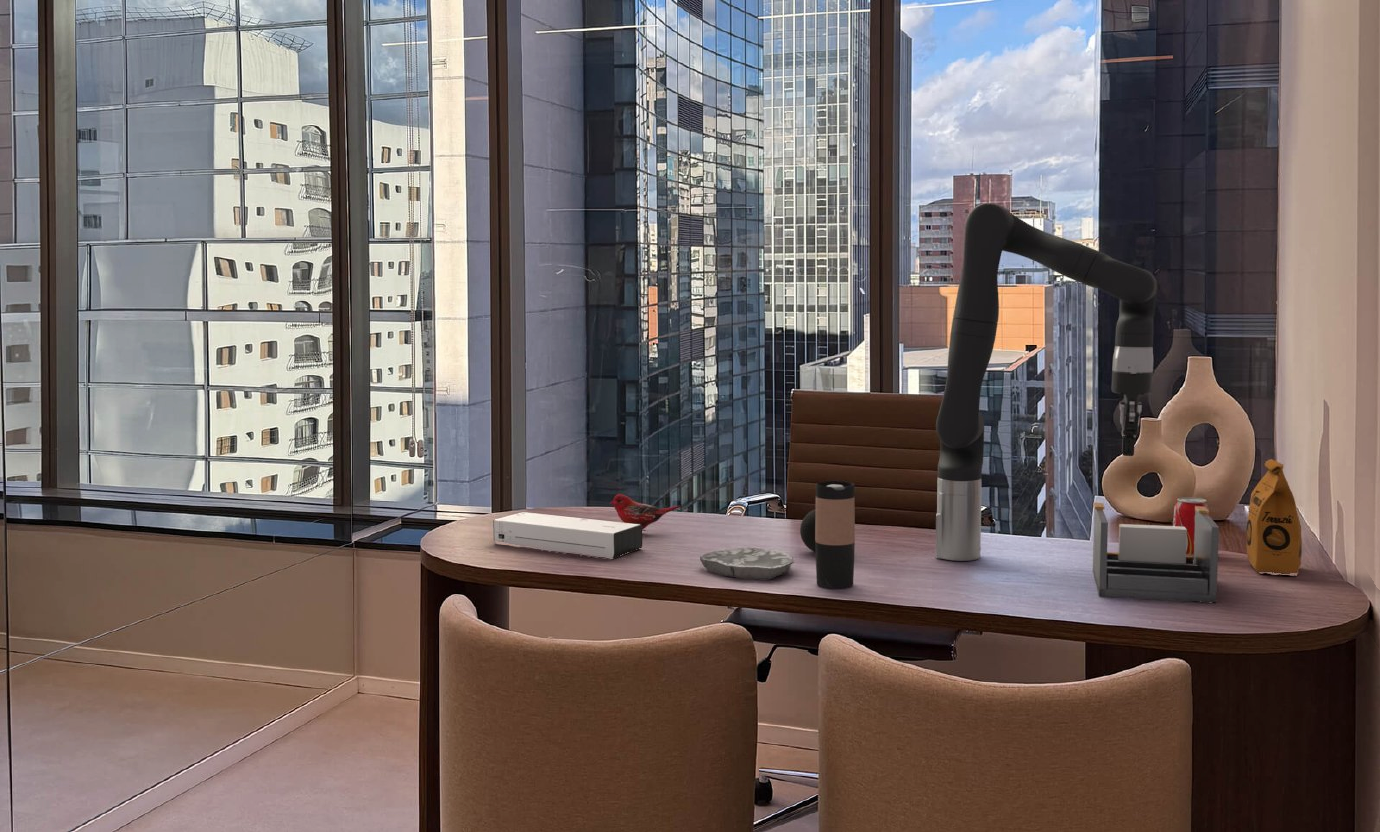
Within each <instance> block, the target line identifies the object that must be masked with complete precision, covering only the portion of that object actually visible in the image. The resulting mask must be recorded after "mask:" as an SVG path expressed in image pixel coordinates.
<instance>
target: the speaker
mask: <svg viewBox="0 0 1380 832" xmlns="http://www.w3.org/2000/svg"><path fill="white" fill-rule="evenodd" d="M815 521H816V508H815V509H813V510H811V511H809V512H808V513H806V515H805V516H804V517H803V519H802V520H801V523H800V527H799V529H800V530H799V533H800V539H801V540H802V542H803V544H804V545H805V546H806V548H808V549H809V550H811V552H815V553H816V547H815V542H816V541H815Z"/></svg>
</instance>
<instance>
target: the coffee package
mask: <svg viewBox="0 0 1380 832" xmlns="http://www.w3.org/2000/svg"><path fill="white" fill-rule="evenodd" d="M1264 467H1265V468H1266V469H1268V470H1267V472H1266V473H1265V475H1263V477H1262V478H1261V479H1260V480H1259V482H1258V483H1257V485H1256V486H1255V487H1254V489H1253V490H1252V492H1251V494H1250V501H1249V507H1248V512H1247V521H1246V529H1245V539H1246V540H1245V541H1246V542H1245V543H1246V545H1245V546H1246V555H1247V560H1248V561H1249V563H1250V565H1251V566H1252V567H1253V569H1254V570H1255V571H1256V572H1257V573H1258V572H1272V573H1273V572H1274V573H1281V574H1290V573H1297V572H1298V571H1299V572H1300V567H1301V565H1302V553H1303V552H1302V551H1303V549H1302V547H1303V546H1302V543H1303V542H1302V525H1301V522H1300V517H1299V514H1298V511H1297V503H1296V500H1295V497H1294V495H1293V492H1292V489H1291V488H1290V485H1289V483H1288V481H1287V479H1286V477H1285V474H1284V471H1283V470H1284V464H1282V463H1281V462H1279V461H1277V460H1275V459H1271V458H1270V459H1268V460H1267V461H1265V463H1264ZM1299 572H1298V573H1299Z"/></svg>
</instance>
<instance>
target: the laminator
mask: <svg viewBox="0 0 1380 832" xmlns="http://www.w3.org/2000/svg"><path fill="white" fill-rule="evenodd" d="M492 523H493V542H494V541H498V542H505V543H509V544H515V545H520V546H530V547H537V548H543V549H550V550H557V551H564V552H576V553H582V554H589V555H595V556H601V557H609V558H614V559H616V558H615V557H617V556H620V555H622V554H625V553H627V552H631V551H633V552H635V551H634V550H636V549H639V548H641V549H642V548H643V533H642V525H640V524H631V523H624V522H620V521H612V520H610V521H609V520H602V519H601V520H599V519H593V518H592V519H591V518H584V517H583V518H582V517H573V516H562V515H553V514H544V513H535V512H527V511H521V512H518V513H517V512H516V513H513V514H510V515H507V516H503V517H499V518H495V519H493V521H492ZM636 551H637V550H636ZM631 553H632V552H631ZM625 555H626V554H625ZM622 556H623V555H622ZM620 557H621V556H620ZM617 558H618V557H617Z"/></svg>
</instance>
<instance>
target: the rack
mask: <svg viewBox="0 0 1380 832" xmlns="http://www.w3.org/2000/svg"><path fill="white" fill-rule="evenodd" d="M1105 508H1106V507H1105V505H1104V502H1093V509H1094V510H1093V513H1094V514H1093V542H1092V543H1093V547H1092V548H1093V549H1092V550H1093V551H1092V552H1093V554H1092V574H1093V577H1094V581H1095V586H1096V591H1097V592H1098V593H1097V594H1098V597H1099V598H1100V597H1101V598H1103V597H1104V598H1105V597H1106V598H1117V597H1119V598H1121V599H1135V600H1136V599H1138V600H1151V601H1152V600H1153V601H1155V600H1156V601H1168V600H1169V601H1170V602H1174V601H1175V602H1185V601H1198V602H1197V603H1201V602H1216V603H1217V594H1218V590H1217V589H1218V566H1219V564H1218V563H1219V542H1220V540H1219V537H1220V526H1218V524H1217V523H1216V522H1215V521H1214V520H1213V518H1212V517H1211V516H1210V509H1209V510H1208V509H1207V508H1206V507H1201V506H1195V536H1194V557H1193V556H1186V564H1184V563H1164V562H1144V561H1124V560H1118V553H1119V551H1108V538H1109V537H1108V536H1109V535H1108V534H1109V533H1108V532H1109V521H1108V520H1107V516H1106V514H1105V511H1104V510H1105ZM1207 513H1209V515H1208V514H1207ZM1169 601H1168V602H1169ZM1199 601H1201V602H1199Z"/></svg>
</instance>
